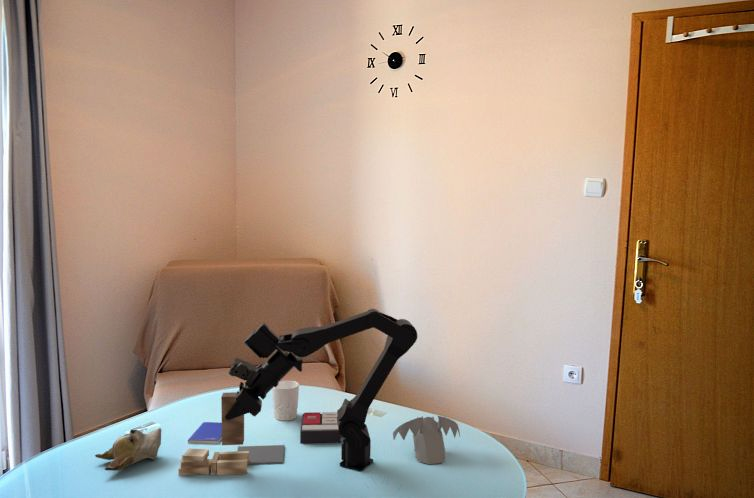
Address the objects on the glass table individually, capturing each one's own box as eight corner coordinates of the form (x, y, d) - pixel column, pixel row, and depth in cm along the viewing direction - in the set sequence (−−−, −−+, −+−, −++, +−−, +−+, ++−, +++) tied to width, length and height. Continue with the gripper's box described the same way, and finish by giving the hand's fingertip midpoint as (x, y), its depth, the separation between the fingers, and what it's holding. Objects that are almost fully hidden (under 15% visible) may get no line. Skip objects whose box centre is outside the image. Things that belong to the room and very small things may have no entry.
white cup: (269, 414, 181) (269, 382, 180) (294, 410, 185) (294, 379, 184) (276, 423, 174) (276, 390, 173) (302, 419, 177) (302, 387, 177)
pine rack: (249, 462, 148) (249, 450, 148) (246, 473, 143) (246, 461, 142) (214, 463, 147) (214, 452, 147) (210, 475, 142) (210, 462, 141)
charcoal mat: (284, 446, 158) (284, 445, 158) (282, 463, 148) (282, 461, 148) (238, 447, 157) (238, 446, 157) (233, 465, 147) (233, 463, 147)
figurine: (454, 442, 163) (456, 403, 162) (468, 462, 151) (469, 421, 150) (390, 445, 160) (391, 405, 159) (398, 466, 148) (399, 423, 147)
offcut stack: (212, 464, 147) (212, 446, 147) (208, 474, 142) (208, 456, 141) (182, 465, 146) (182, 447, 146) (178, 475, 141) (177, 457, 141)
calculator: (340, 410, 176) (341, 428, 161) (340, 425, 176) (341, 443, 161) (302, 411, 175) (300, 428, 160) (302, 425, 175) (300, 444, 160)
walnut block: (244, 439, 146) (244, 392, 145) (242, 444, 143) (242, 396, 142) (223, 440, 146) (223, 392, 145) (221, 445, 143) (221, 396, 142)
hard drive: (217, 440, 159) (230, 422, 171) (187, 439, 159) (202, 421, 172) (217, 445, 159) (230, 427, 172) (187, 444, 160) (202, 426, 172)
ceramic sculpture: (167, 428, 147) (103, 446, 138) (170, 461, 148) (106, 482, 139) (153, 415, 155) (92, 432, 146) (156, 447, 156) (95, 465, 147)
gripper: (252, 338, 152) (208, 381, 152) (245, 358, 134) (195, 407, 133) (283, 368, 154) (240, 410, 153) (280, 392, 135) (231, 440, 135)
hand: (227, 416), depth 144 cm, fingers closed on walnut block, 3 cm apart
